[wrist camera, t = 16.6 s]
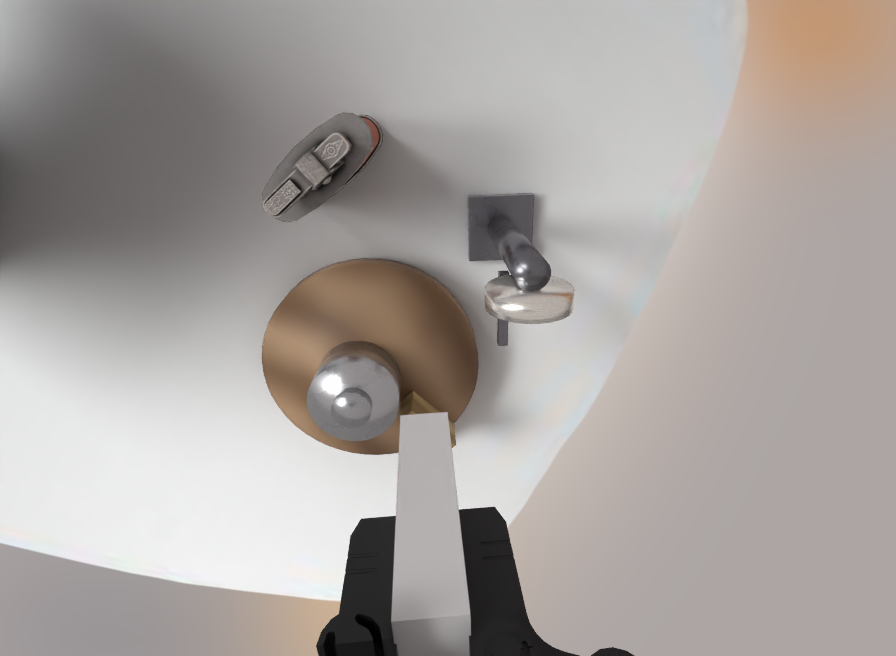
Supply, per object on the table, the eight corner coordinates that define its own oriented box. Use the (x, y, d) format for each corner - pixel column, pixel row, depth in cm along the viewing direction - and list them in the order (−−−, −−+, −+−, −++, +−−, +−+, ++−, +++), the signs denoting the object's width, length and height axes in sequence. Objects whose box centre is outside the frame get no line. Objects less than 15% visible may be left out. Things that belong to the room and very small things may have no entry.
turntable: (383, 471, 46) (378, 510, 41) (227, 361, 40) (201, 392, 36) (517, 354, 41) (528, 383, 36) (362, 211, 35) (352, 223, 31)
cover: (363, 426, 41) (354, 464, 36) (300, 378, 39) (283, 412, 34) (418, 377, 39) (417, 411, 35) (356, 324, 37) (346, 352, 32)
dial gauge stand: (469, 298, 39) (490, 387, 26) (467, 195, 36) (491, 237, 22) (527, 295, 39) (578, 383, 26) (531, 193, 36) (592, 233, 23)
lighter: (361, 102, 33) (335, 94, 24) (393, 141, 34) (380, 148, 25) (283, 179, 35) (232, 198, 26) (317, 213, 36) (279, 244, 27)
